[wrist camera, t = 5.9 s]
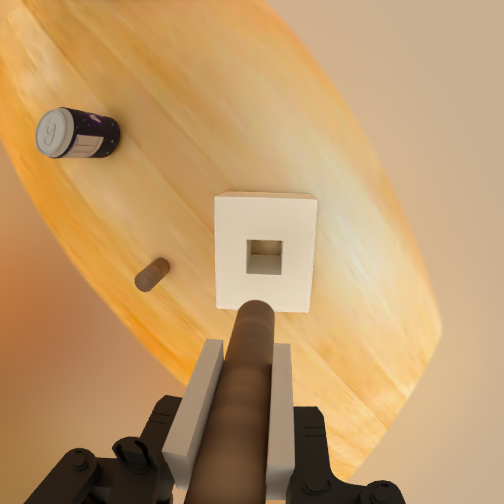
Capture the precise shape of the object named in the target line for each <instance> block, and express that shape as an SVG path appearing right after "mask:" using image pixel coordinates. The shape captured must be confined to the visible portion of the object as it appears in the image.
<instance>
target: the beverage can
mask: <svg viewBox="0 0 504 504" xmlns="http://www.w3.org/2000/svg"><path fill="white" fill-rule="evenodd" d="M119 139H120V129H119V126H118V124H117V122H116V121H115V120H114V119H112V118H110V117H106V116H101V115H97V114H93V113H88V112H84V111H79V110H74V109H70V108H65V107H60V108H57V109H55V110H50V111H48V112H47V113H45V114H44V115H43V117H42V118H41V119H40V121H39V123H38V126H37V129H36V134H35V142H36V146H37V148H38V150H39V151H40V152H41V153H42V154H44V155H47V156H48V157H50V158H103V157H106V156H108V155H110V154H111V153H112V152H113V151H114V150H115V149H116V147H117V145H118V143H119Z"/></svg>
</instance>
